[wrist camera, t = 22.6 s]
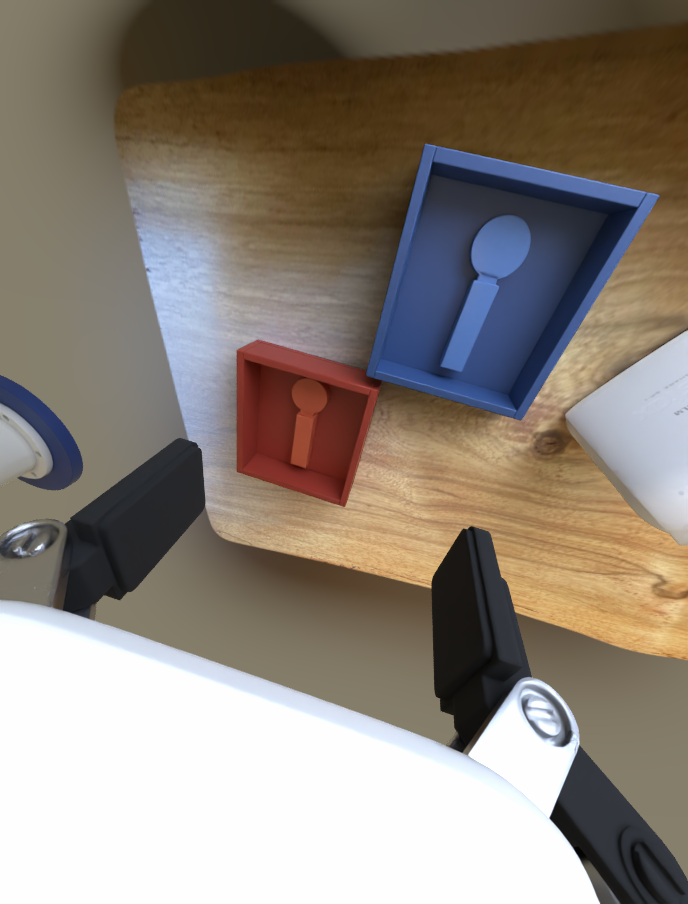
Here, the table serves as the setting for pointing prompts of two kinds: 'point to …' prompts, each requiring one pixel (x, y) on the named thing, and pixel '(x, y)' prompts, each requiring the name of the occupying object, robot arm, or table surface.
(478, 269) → the blue spoon
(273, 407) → the red bin
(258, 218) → the table surface
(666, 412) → the photo printer
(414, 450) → the table surface
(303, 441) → the red spoon
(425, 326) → the blue bin
